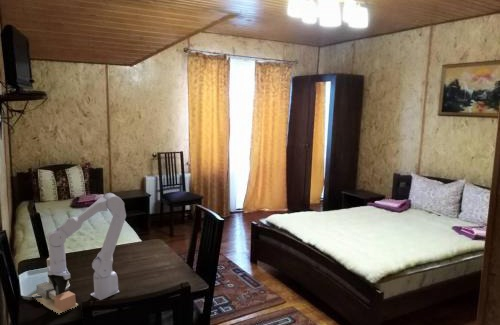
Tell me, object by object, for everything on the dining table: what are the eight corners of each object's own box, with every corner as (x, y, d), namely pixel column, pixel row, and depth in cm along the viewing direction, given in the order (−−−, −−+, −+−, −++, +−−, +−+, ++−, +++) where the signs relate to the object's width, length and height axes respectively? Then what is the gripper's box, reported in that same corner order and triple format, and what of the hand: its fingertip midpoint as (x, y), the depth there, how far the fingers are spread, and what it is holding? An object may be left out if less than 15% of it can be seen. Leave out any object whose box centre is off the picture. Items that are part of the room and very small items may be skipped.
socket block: (69, 301, 156) (68, 290, 156) (75, 305, 153) (75, 294, 153) (54, 307, 152) (54, 296, 151) (61, 311, 149) (60, 300, 148)
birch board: (50, 290, 168) (50, 288, 168) (78, 306, 154) (78, 304, 154) (31, 297, 162) (31, 295, 161) (58, 314, 148) (58, 312, 148)
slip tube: (51, 293, 162) (49, 277, 161) (69, 303, 153) (68, 286, 152) (45, 295, 160) (44, 279, 159) (63, 305, 151) (62, 289, 150)
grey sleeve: (47, 290, 166) (46, 281, 165) (56, 296, 161) (55, 286, 160) (37, 294, 162) (36, 285, 162) (46, 299, 158) (45, 290, 157)
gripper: (38, 258, 153) (41, 290, 155) (56, 267, 145) (59, 300, 147) (56, 253, 159) (58, 283, 161) (74, 261, 150) (76, 293, 152)
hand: (59, 291), depth 154 cm, fingers open, 3 cm apart
